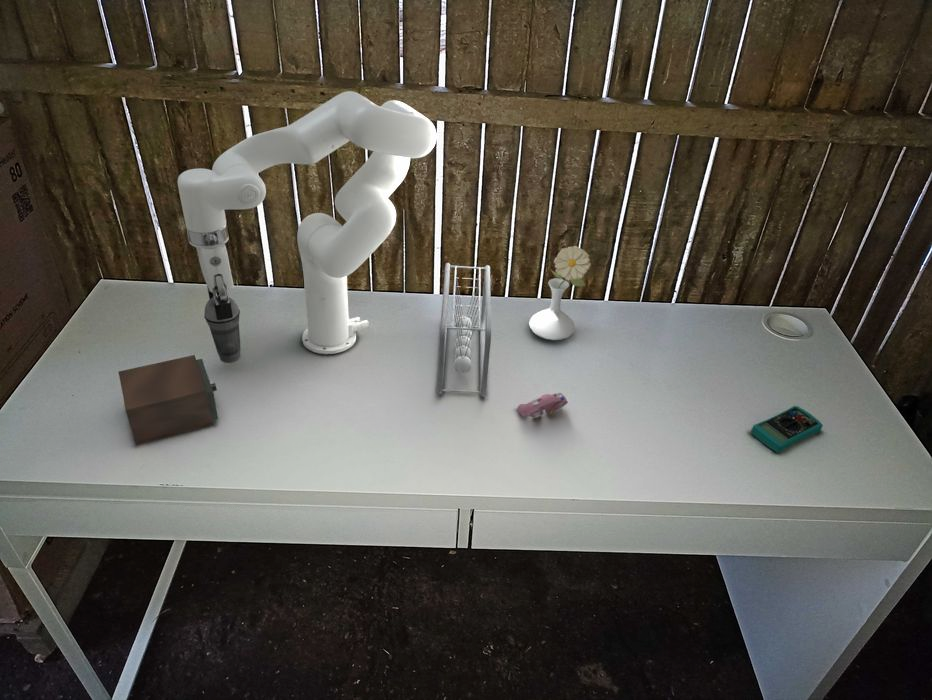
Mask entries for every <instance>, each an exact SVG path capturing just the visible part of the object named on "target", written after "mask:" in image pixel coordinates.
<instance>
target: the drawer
mask: <svg viewBox="0 0 932 700" xmlns="http://www.w3.org/2000/svg"><path fill="white" fill-rule="evenodd" d="M196 360H197V363H198V366H199V369H200V372H201V376H202V379H203V382H204V385H205V388H206V391H207V396H208V401H209V406H210V411H211V415H212V420H213V421H214V420H218V419H219V414H218V409H217V404H216V400H215V395H214V392H216V391H218V388H217V384H216V383H215V382H213V383H211V381H210V377H209V375H208V372H207V369H206V366H205V364H204V361H203V358H199V359H198V358H197V359H196Z"/></svg>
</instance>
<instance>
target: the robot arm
mask: <svg viewBox="0 0 932 700" xmlns="http://www.w3.org/2000/svg"><path fill="white" fill-rule="evenodd" d="M350 142H351V143H353V144H354V145H355V146H357V147H359V148H361V149H363V150H368V151H371V152H372V153H371V155H370V156H369V157H368V158H367V160H366V161H365V162H364V163H363V164H362V166H360V167H359V168H358V170H357V171H356V172H355V173H354V174H353V175H352V176H351V177H350V178H349V179H348V180H347V181H346V182H345V183H344V184H343V186H341V188H340V189H339V190H338V192H337V193H336V195H335V198H334V206H335V210H336V211H337V213H338V214H339V216H340V217H341V218H342V219H343V220H344V221H345V223H344V224H343V225H342V224H340V222H339V221H338V220H336V218H334V217H333V216H331V215H329V214H327V213H323V212H315V213H311V214H309V215H307V216H305V217H304V218H303V219H302V220H301V222H300V224H299V226H298V228H297V232H296V234H297V235H296V241H297V247H298V252H299V256H300V262H301V267H302V274H303V282H304V283H303V285H304V286H303V287H304V299H305V309H306V310H305V311H306V322H307V327H306V328H305V329H304V331H303V332H302V335H301V338H302V341H301V342H302V343H303V346H304V347H305V348H306V349H308V350H309V351H310V352H313V353H316V354H320V355H334V354H339V353H343V352H345V351H347V350H349V349H350V348H351V347H352V346H354V344H355V343H356V341H357V331H358V330H364V329H369V328H370V323H369V321H368V319H365V320H361V318H360V316H356V317H352V318H350V317H349V299H348V296H349V295H348V276H350V275H351V274H353V273H354V272H355V271H356V270H357V269H358V268H359V267H361V265H363V264H364V262H365V261H366V260H368V259H369V257H370V256H372V254H374V252H375V251H376V250H378V248H379V247H380V246H381V245H382V244H383V242H384V241H385V240H387V238H388V237H389V236H390V235H391V233H392V231H393V229H394V227H395V224H396V219H397V211H396V208H395V206H394V204H393V202H392V201H391V200H390V199H389V198H390V197H391V195H392V194H393V193H394V192H395V190H397V188H398V187H399V186H400V185H401V184H402V183H403V181H404V180H405V178H406V176H407V173H408V171H409V168H410V163H411V159H419V158H423V157H425V156H427V155H428V154H430V153H431V151H432V150H433V148H434V147H435V145H436V143H437V130H436V127H435V125H434V123H433V122H432V121H431V120H430V119H429V118H427V117H426V116H424V115H423V114H422V113H420V112H418V111H417V110H415V109H414V108H413V107H411V106H409V105H408V104H406V103H404V102H402V101H400V100H397V99H396V100H395V99H390V100H387V101H385V102H383V104H382V105H381V106H380V105H378V104H376V103H374V102H373V101H371V100H370V99H368V98H367V97H365V96H364V95H362V94H361V93H358V92H356V91H351V90H348V91H347V90H346V91H342V92H341V93H338V94H337V95H335V96H333V97H332V98H330V99H328V100H327V101H325V102H324V103H322V104H321V105H319V106H318V107H316V108H315V109H313V110H311V111H310V112H309V113H307V114H306V115H304V116H302V117H300V118H299V119H297V120H295V121H293V122H292V123H290V124H288V125H286V126H282V127H278V128H274V129H272V130H268V131H263V132H259V133H256V134H254V135H251V136H249V137H247V138H245V139H243V140H241V141H239V142H238V143H236V144H235V145H233V146H232V147H230V148H229V149H227V150H226V151H224V152H223V153H222V154H220V155H219V156H218V157H217V158H216V159H215V161H214V162H213V165H212V168H211V169H209V168H203V167H202V168H201V167H200V168H191V169H187V170H185V171H183V172H181V173H180V174H179V175H178V177H177V188H178V194H179V199H180V203H181V204H180V205H181V208H182V213H183V214H182V215H183V219H184V225H185V229H186V234H187V239H188V243H189V244H190V246H192V247H194V248H196V252H197V258H198V262H199V266H200V269H201V273H202V276H203V278H204V281H205V283H206V287H207V288H206V289H207V293H208V300H210V299H211V298H212V297H214V300H215V303H214V307H215V313H216V318H217V320H223V319H228V318H232V317H233V314H232V308H231V302H230V300H229V297H230V296H229V292H228V290H233V289H234V288H235V285H234V280H233V275H232V269H231V264H230V259H229V255H228V250H227V247H226V244H227V242H228V241H229V238H230V236H229V231H228V224H227V218H226V212H225V210H250V209H253V208H256V207H258V206H259V205H261V203H263V201H264V200H265V199H266V196H267V188H266V187H267V186H266V183H264V181H263V178H261V176H260V175H259V173H261V172H263V171H265V170H267V169H269V168H271V167H273V166H278V165H282V164H293V165H294V164H295V165H314V164H316V163H318V162H319V161H321V160H323V159H324V158H326V157H328V155H330V154H331V153H333V152H335V151H336V150H338V149H339V148H341V147H343V146H344V145H345V144H347V143H350ZM214 288H215V289H214ZM217 295H219V296H218V298H217Z"/></svg>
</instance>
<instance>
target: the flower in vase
mask: <svg viewBox="0 0 932 700" xmlns="http://www.w3.org/2000/svg"><path fill="white" fill-rule="evenodd" d="M589 257H590V255H589V253H587V251H585V250H584V249H583V248H580V247H579V246H577V245H574V246H568V247H565V248H561V249H560V251H559V252H558V253H557V255H556V257H555V258H554V260H553V263H554V268H556V269H555V271H553V270H552V269H550V272H551V273H552V274H553V275H554V276H555V277H556V278H550V279H549V280H548V283H547V284H548V286H549V288H550V291H551V301H550V305H549V307H548V308H546V309H543V310H540V311H538V312H537V313H534V314H533V315H532V316H531V318H530V319H529V322H528V326H529V328H530V329H531V331H532V332H533V333H534V334H535V335H536V336H538V337H540V338H542V339H545V340H550V341H559V340H561V341H562V340H565V339H568V338H569V337H571V336H572V335H573V334H574V333H575V331H576V326H575V323H574V321H573V319H572V318H571V317H570V316H569V315H568V314H567V313H566V312H564V311H562V310H561V301H562V298H563V294H564V293H565V291H566V290H567V289H568V288H569V287H570V283H571V284H572V285H573V286H574V287H585V286H586V283H585V281H584V280H583V277H585V274H586V273H587V272H588V270H589V269H590V267H591V263H590V261H591V260H590V258H589ZM568 281H570V283H569V282H568Z"/></svg>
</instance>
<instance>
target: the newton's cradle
mask: <svg viewBox="0 0 932 700" xmlns="http://www.w3.org/2000/svg"><path fill="white" fill-rule="evenodd" d="M451 268H454V274H453V275H454V277H453V294H452V310H451V324H448V317H449V298H450V297H449V296H450V280H451V278H450V277H451V275H450V274H451ZM457 269H473V270H474V269H475V270H478V278H477V279H476V283H475V287H473V286H469V287H468V286H467V288H470V289H473V293H472V295H465V297H468V298H471V300H470V303H469V305H468V309H467V313H466V314H464V313H463V307H467V305H465V304H463V305H462V301H461V294H460V286H459V282H458V277H457ZM481 270H484V273H483V274H484V275H483V284H481V283H482V282H481V281H482V279H481V277H482V274H481ZM463 279H467V280H472V277H471V278H468V277H463ZM456 285H457V286H456ZM481 285H483V286H482V287H481ZM477 286H478V287H477ZM481 288H482V297H481ZM475 291H476V292H475ZM477 294H478V296H477ZM491 295H492V294H491V266H490V265H488V264H487V265H485V266H484V267H483V266H465V265H451V264H450V263H449V262H446V263H445V265H444V278H443V289H442V304H441V313H440V314H441V315H440V325H439V327H440V328H439V344H438V364H437V365H438V367H437V391H436V392H437V395H442V394H443V393H444V392H449V393H450V392H451V393H467V394H469V393H470V394H479V395H480V398H481V397H482V398H484V397H485V396H486V393H487V386H488V385H487V383H488V376H489V375H488V373H489V364H490V363H489V362H490V353H491V343H492V342H491V341H492V308H491V307H492V305H491V303H492V302H491V301H492V300H491V299H492V297H491ZM477 302H478V305H477ZM471 304H472V305H471ZM470 307H471V308H470ZM472 310H473V311H472ZM469 311H470V312H469ZM477 311H478V315H477ZM474 312H475V313H474ZM471 313H472V314H471ZM468 314H469V315H468ZM472 318H473V319H472ZM475 318H476V319H475ZM474 321H475V322H474ZM477 321H478V325H477ZM454 323H455V324H454ZM473 324H474V325H473ZM448 330H456V331H455V337H456V340H455V343H454V345H455V347H456V349H455V351H454V357H455V360H454V364H453V365H454V368H455V370H456V371H457V372H459V373H462V374H463V373H467V372H469V370H471V367H472V361H471V357H472V350H471V348H472V344H473V343H472V337H473V334H474V331H477V332H478V331H479V391H477V390H464V389H463V390H461V389H446V388H445V389H444V379H445V378H444V376H445V364H446V361H445V360H446V349H447V335H448V332H447V331H448Z"/></svg>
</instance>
